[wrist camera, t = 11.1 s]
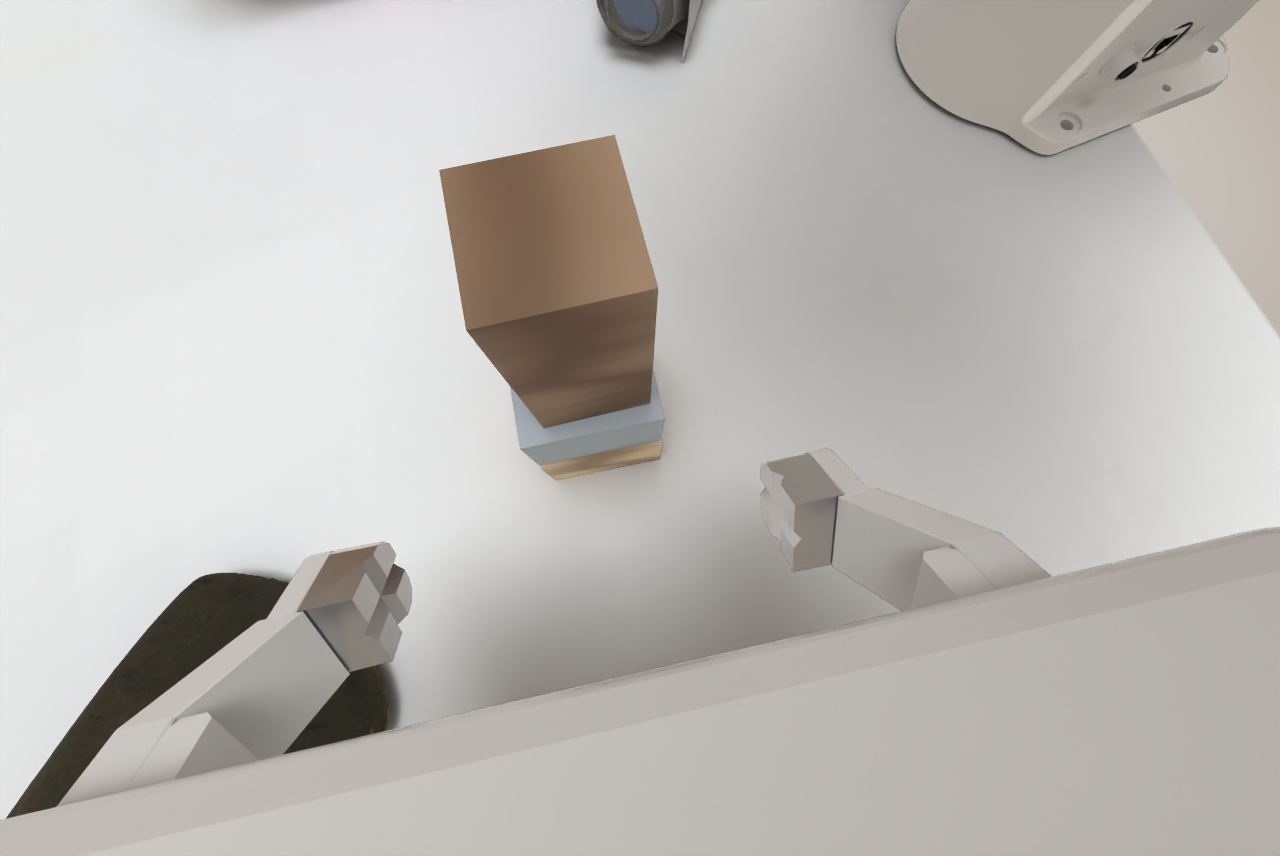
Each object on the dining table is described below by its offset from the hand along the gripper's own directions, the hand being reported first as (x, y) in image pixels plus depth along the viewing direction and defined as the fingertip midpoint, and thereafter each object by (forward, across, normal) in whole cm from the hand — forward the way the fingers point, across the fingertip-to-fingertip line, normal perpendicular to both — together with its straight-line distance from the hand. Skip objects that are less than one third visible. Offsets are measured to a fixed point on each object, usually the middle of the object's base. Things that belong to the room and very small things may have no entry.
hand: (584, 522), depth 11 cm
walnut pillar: (+11, 0, +1) cm, 11 cm away
